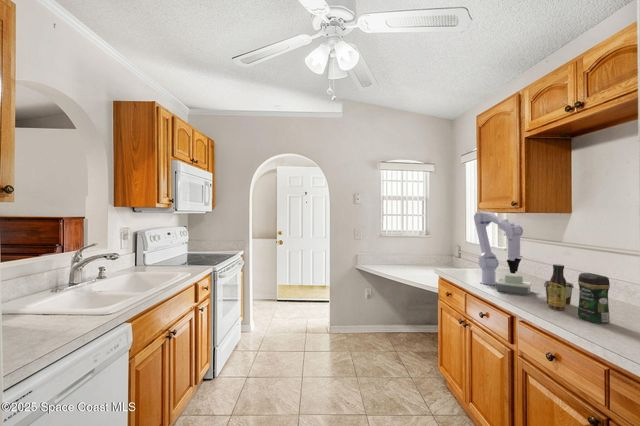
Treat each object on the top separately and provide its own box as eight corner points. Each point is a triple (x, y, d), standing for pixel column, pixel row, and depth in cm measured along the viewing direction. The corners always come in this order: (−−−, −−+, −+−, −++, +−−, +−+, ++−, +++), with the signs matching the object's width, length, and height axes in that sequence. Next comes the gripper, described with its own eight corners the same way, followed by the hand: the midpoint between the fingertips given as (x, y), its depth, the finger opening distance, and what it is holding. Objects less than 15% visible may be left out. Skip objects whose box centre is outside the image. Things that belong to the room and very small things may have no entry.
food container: (565, 301, 157) (565, 280, 157) (573, 305, 151) (573, 283, 151) (538, 300, 158) (538, 280, 158) (545, 304, 152) (545, 282, 152)
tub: (501, 287, 186) (501, 280, 186) (530, 291, 178) (530, 283, 178) (497, 291, 177) (497, 284, 177) (527, 295, 168) (527, 287, 168)
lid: (500, 280, 187) (500, 272, 187) (531, 283, 178) (531, 276, 178) (496, 284, 177) (496, 276, 177) (528, 288, 168) (528, 279, 168)
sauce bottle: (544, 307, 146) (545, 263, 147) (554, 306, 149) (554, 263, 149) (560, 311, 140) (560, 266, 140) (569, 310, 143) (569, 265, 143)
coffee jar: (573, 316, 134) (573, 271, 134) (591, 316, 134) (591, 271, 134) (595, 324, 124) (595, 276, 124) (614, 324, 125) (614, 276, 125)
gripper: (520, 249, 169) (520, 275, 169) (524, 247, 181) (524, 271, 181) (505, 248, 174) (505, 273, 174) (509, 246, 185) (509, 269, 185)
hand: (513, 272), depth 177 cm, fingers open, 7 cm apart
